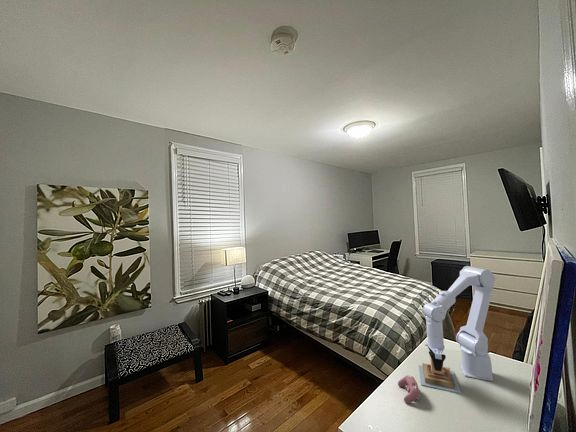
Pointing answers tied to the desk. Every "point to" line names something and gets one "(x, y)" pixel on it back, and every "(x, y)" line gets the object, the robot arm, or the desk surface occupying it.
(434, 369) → the terracotta block
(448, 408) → the desk surface
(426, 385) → the mat
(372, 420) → the desk surface
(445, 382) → the walnut plinth
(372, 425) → the desk surface
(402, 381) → the video game controller
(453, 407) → the desk surface
